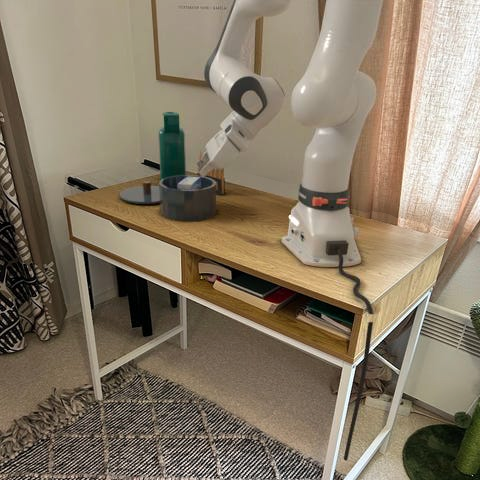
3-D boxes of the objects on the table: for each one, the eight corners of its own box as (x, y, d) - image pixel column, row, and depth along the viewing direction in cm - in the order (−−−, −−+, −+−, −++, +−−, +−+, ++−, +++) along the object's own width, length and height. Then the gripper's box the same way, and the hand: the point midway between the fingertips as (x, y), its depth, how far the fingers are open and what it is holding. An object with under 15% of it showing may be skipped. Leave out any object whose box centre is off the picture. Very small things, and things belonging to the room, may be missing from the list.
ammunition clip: (225, 194, 155) (225, 155, 149) (221, 195, 154) (221, 156, 148) (200, 187, 161) (200, 149, 155) (196, 188, 160) (196, 150, 153)
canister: (218, 221, 134) (218, 190, 130) (160, 221, 132) (158, 190, 128) (213, 202, 147) (213, 174, 143) (161, 203, 145) (159, 174, 141)
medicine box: (193, 215, 136) (192, 184, 131) (178, 213, 137) (177, 182, 132) (201, 206, 142) (201, 177, 138) (187, 205, 143) (186, 175, 139)
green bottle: (160, 177, 170) (156, 109, 158) (184, 177, 171) (182, 109, 160) (161, 185, 161) (157, 114, 150) (186, 184, 163) (185, 114, 151)
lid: (175, 205, 144) (174, 190, 142) (117, 206, 142) (116, 190, 139) (174, 189, 158) (173, 174, 156) (122, 189, 156) (120, 174, 154)
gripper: (223, 118, 137) (189, 153, 141) (231, 131, 120) (193, 171, 124) (238, 134, 140) (205, 169, 144) (248, 149, 123) (210, 188, 127)
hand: (199, 170), depth 134 cm, fingers open, 8 cm apart
